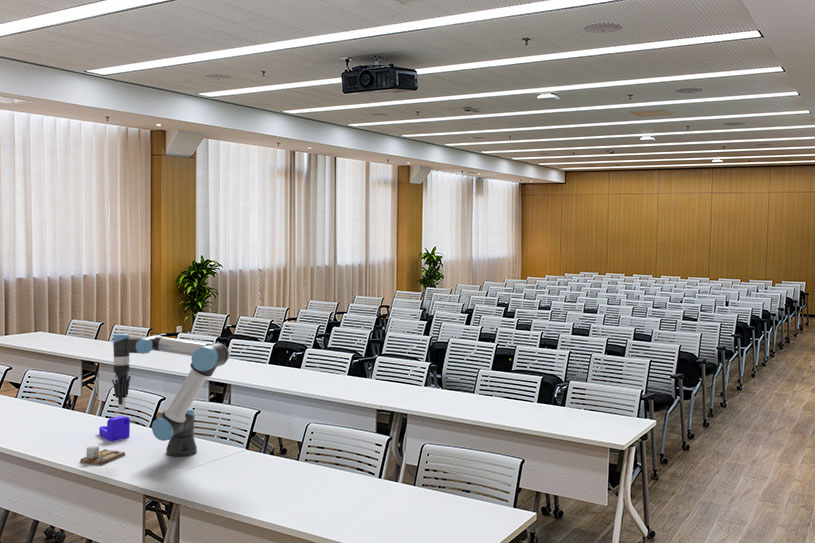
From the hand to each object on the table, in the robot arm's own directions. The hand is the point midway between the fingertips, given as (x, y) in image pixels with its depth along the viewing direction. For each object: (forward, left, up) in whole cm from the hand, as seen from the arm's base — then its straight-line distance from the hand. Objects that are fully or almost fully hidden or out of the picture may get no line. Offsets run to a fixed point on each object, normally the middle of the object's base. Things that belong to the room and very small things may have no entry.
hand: (121, 410), depth 366 cm
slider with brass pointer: (+2, +15, -21) cm, 26 cm away
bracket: (+26, -26, -23) cm, 43 cm away
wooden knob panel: (+3, +10, -23) cm, 25 cm away
